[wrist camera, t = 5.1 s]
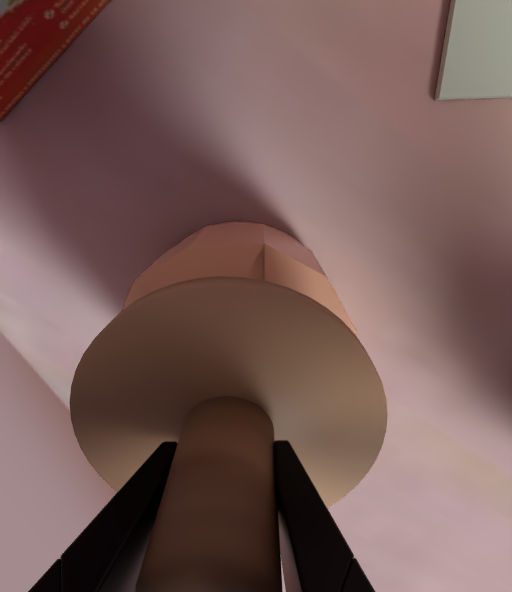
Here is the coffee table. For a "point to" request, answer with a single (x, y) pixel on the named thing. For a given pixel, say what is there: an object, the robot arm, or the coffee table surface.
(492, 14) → the mat
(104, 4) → the medicine box
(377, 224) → the coffee table surface
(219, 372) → the lid
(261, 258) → the bowl
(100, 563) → the robot arm
